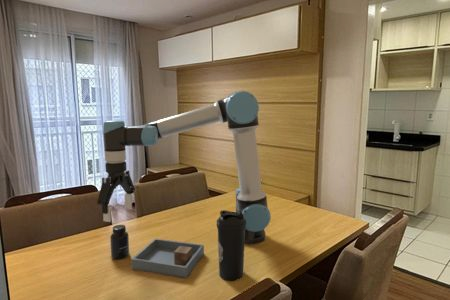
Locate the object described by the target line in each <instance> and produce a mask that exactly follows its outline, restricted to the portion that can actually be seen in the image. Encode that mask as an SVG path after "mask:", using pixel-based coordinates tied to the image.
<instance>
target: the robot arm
mask: <svg viewBox="0 0 450 300" xmlns="http://www.w3.org/2000/svg"><path fill="white" fill-rule="evenodd" d="M259 109H260V105H259V101H258V99H257V98H256V97H255V96H254V95H253V94H252V93H251V92H249V91H247V90H246V91H245V90H239V91H234V92H232V93H231V94H230V95H228V96H226V97H223V98H222V99H219V100H216V101H215V103H214V104H213V103H212V104H210V105H206V106H203V107H198V108H196V109H193V110H189V111H185V112H182V113H180V114H176V115H172V116H169V117H165V118H162V119H158V120H156V121H153V122H148V123H147V122H146V123H145V124H142V125H126V124H125V121H124V120H106V121H104V122H103V127H102V128H103V132H102V134H103V145H104V161H105V165H104V166H105V172H106V173H107V177H106V176H103V177H102V178H101V185H100V190H99V195H98V197H97V203H96V204H97V205H99V206H101V211H102V216H103V217H102V218H103V222H107V223H108V222H109V223H111V222H112V213H111V211H112V210H111V204H110V201H111V198H112V197H113V194H114V192H115V191H114V190H115V189H116V188H117V187H119V186H120V187H121V188H122V189H123V191H124V192H125V193H124V208H125V210H132V209H133V202H132V201H133V200H132V199H133V197H132V196H133V195H132V194H134V193H135V185H134V182H133V181H132V177H131V173H130V170H129V169H127V161H126V160H127V151H126V149H127V148H126V147H129V146H130V147H132V146H133V147H136V146H137V147H152V146H153V147H154V146H156V145H157V144H158V140H161V139H163V138H166V137H167V138H168V137H171V136H173V135H177V134H181V133H184V132H188V131H191V130H194V129H198V128H202V127H205V126H207V125H212V124H216V123H218V122H220V123H221V124H223V123H227V127H228V128H227V129H228V130H229V131H230V132H231V133H232V136H233V143H234V145H233V146H234V152H235V160H236V168H237V169H236V170H237V176H238V183H239V188H238V187H237V188H236V190H235V194H234V195H235V212H237V211H238V210H240V211H241V212H242V214H243V217H244V219H245V220H246V228H245V242H244V245H252V246H253V245H257V244H261V243H263V242H264V241H266V231H265V229H266V228H267V227H268V226H269V224H270V222H271V217H272V216H271V212H270V209H269V206H268V199H267V193H266V192H265V191H264V190H263V189H262V188H263V187H262V180H261V178H262V177H261V170H260V160H259V153H258V143H257V135H256V134H257V133H256V130H257V128H258V127H259V117H258V116H259V115H258V114H259V111H260V110H259Z"/></svg>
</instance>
